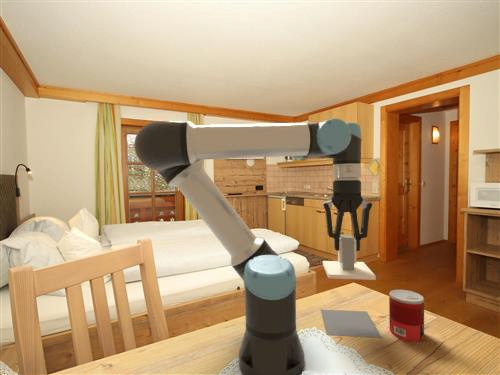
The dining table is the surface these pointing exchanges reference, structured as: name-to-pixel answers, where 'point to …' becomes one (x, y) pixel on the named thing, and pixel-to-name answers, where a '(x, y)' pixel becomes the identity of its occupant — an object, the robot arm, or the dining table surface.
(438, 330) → the dining table surface
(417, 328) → the canned food
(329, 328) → the mat
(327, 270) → the lid
